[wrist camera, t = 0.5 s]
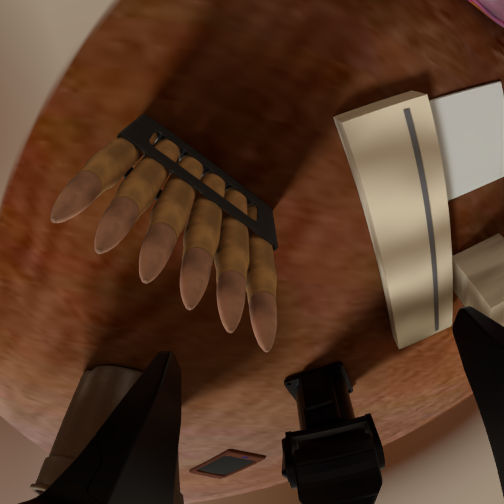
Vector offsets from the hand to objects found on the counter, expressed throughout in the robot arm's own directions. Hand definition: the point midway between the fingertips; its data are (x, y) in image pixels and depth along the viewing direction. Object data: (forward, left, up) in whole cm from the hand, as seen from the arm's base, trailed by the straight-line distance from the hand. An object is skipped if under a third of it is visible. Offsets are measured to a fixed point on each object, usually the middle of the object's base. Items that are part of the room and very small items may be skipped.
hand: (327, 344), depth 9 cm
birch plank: (-9, -8, -14) cm, 18 cm away
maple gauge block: (-15, -15, -14) cm, 25 cm away
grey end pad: (-3, -15, -14) cm, 21 cm away
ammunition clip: (+2, +4, -14) cm, 15 cm away
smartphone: (-43, +26, -15) cm, 52 cm away
